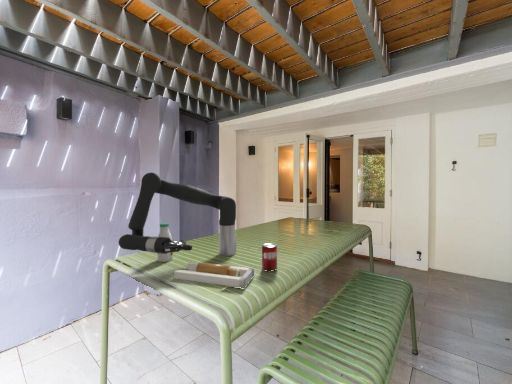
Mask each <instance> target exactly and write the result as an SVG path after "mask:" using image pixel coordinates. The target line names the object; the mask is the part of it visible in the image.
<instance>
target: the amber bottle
mask: <svg viewBox="0 0 512 384" xmlns="http://www.w3.org/2000/svg"><path fill="white" fill-rule="evenodd" d="M197 263H198V265H197V267H196V272H202V273H210V274H218V275H227V276H235V277H239V276H240V270H239V269H237V270H235V269H230V266H231V265H229V264H228V265H226V264H217V263H209V262H208V263H207V262H197Z"/></svg>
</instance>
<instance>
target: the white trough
mask: <svg viewBox="0 0 512 384" xmlns="http://www.w3.org/2000/svg"><path fill="white" fill-rule="evenodd" d="M198 263H199V262H197V261H190V262H188V263H187V270H185V269H183V270H182V269H176V270H175V271H173V273H174V275H173V278H174V279H176V280H183V281H190V282H191V281H192V282H197V283H205V284H211V285H220V286H227V287H226V288H228V287H241V288H245V286H246V285H247V284H248V282H249V281H250V280H251V278H252V277H253V276H254V277H255V269H254V268H251V267H242V266H235V265H234V266H231V265H229V266H230V269H235V270H237V269H239V270H240V276H239V277H235V276H227V275H218V274H210V273H202V272H196V267H197V265H198ZM251 281H252V280H251ZM248 285H249V284H248ZM248 285H247V286H248ZM245 289H246V288H245Z"/></svg>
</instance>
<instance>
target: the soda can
mask: <svg viewBox="0 0 512 384" xmlns="http://www.w3.org/2000/svg"><path fill="white" fill-rule="evenodd" d="M275 269H277V270H278V245H277V244H276V243H272V242H271V243H269V242H268V243H263V244H262V245H261V270H262V271H264V270H267V271H271V270H275Z"/></svg>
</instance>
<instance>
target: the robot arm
mask: <svg viewBox="0 0 512 384" xmlns="http://www.w3.org/2000/svg"><path fill="white" fill-rule="evenodd" d="M155 194H159V195H165V196H167V197H172V198H173V199H177V200H179V201H183V202H186V203H189V204H192V205H199V206H208V207H211V208H215V209H216V210H219V220H218V229H219V231H218V232H219V233H218V234H219V235H218V236H219V238H218V240H219V241H218V242H219V247H218V248H219V255H220V256H224V257H225V256H226V257H229V256H230V257H231V256H233V255H236V253H237V236H236V219H237V203H236V201H235V199H234V198H232V197H231V196H223V195H218V194H215V193H211V192H208V191H207V190H204V189H202V188H200V187H197V186H193V185H189V184H184V183H175V182H174V183H173V182H169V181H167V180H164V179H161V177H160V176H159V175H158V173H155V172H147V173H146V174H143V176H142V178H141V184H140V190H139V195H138V198H137V201H136V204H135V206H134V209H133V211H132V214H131V217H130V220H129V223H128V226H127V227H128V229H129V230H131V234H130V233H129V234H124V235H122V236H121V237H120V238H119V239H118V246H119V247H120V248H121V249H123V250H130V251H141V252H149V253H153V254H157V253H161V254H167V253H170V252H173V253H176V252H183V251H192V250H193V245H192V244H187V242H185V241H184V240H180V241H176V240H172V241H171V239H170V238H168V237H158V236H150V235H149V236H148V235H146V236H144V227H145V225H146V222H147V219H148V215H149V211H150V208H151V207H150V206H151V203H152V200H153V198H154V195H155Z"/></svg>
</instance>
